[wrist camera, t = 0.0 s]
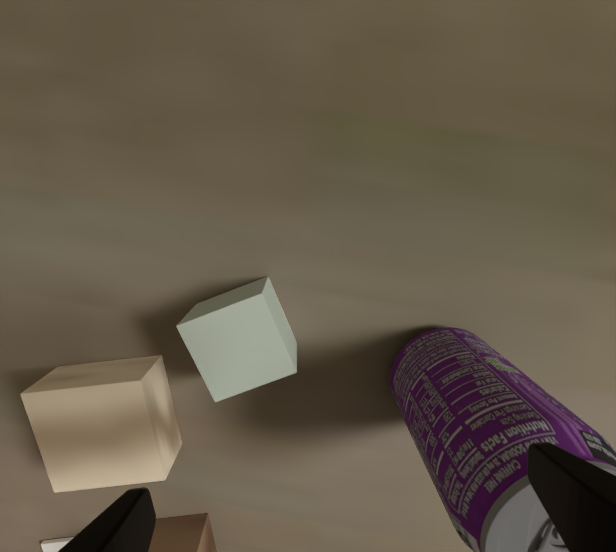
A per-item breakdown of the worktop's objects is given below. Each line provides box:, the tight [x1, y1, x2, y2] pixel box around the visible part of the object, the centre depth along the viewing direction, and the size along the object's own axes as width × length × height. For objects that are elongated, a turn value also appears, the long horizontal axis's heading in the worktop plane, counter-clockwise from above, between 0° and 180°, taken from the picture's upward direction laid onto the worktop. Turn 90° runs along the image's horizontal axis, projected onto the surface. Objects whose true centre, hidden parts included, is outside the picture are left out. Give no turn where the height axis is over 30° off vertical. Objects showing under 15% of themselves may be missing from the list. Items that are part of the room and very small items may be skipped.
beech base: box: [20, 355, 182, 493], centre depth 22 cm, size 7×7×4 cm
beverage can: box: [390, 328, 616, 552], centre depth 18 cm, size 7×7×12 cm
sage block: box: [176, 276, 297, 402], centre depth 21 cm, size 5×5×4 cm
